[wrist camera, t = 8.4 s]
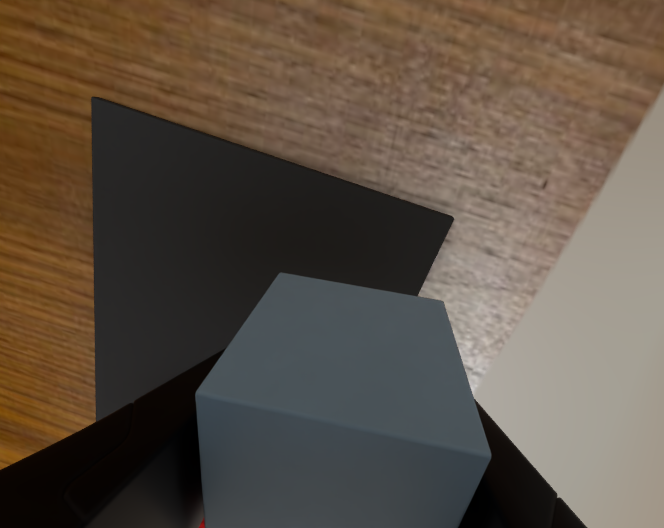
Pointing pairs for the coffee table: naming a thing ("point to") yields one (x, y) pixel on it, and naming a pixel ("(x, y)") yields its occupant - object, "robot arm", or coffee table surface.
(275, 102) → the coffee table surface
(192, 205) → the mat
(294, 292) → the block
